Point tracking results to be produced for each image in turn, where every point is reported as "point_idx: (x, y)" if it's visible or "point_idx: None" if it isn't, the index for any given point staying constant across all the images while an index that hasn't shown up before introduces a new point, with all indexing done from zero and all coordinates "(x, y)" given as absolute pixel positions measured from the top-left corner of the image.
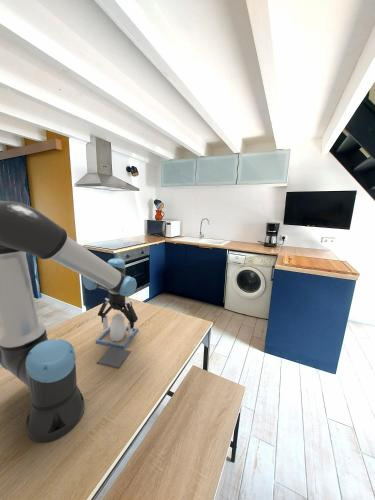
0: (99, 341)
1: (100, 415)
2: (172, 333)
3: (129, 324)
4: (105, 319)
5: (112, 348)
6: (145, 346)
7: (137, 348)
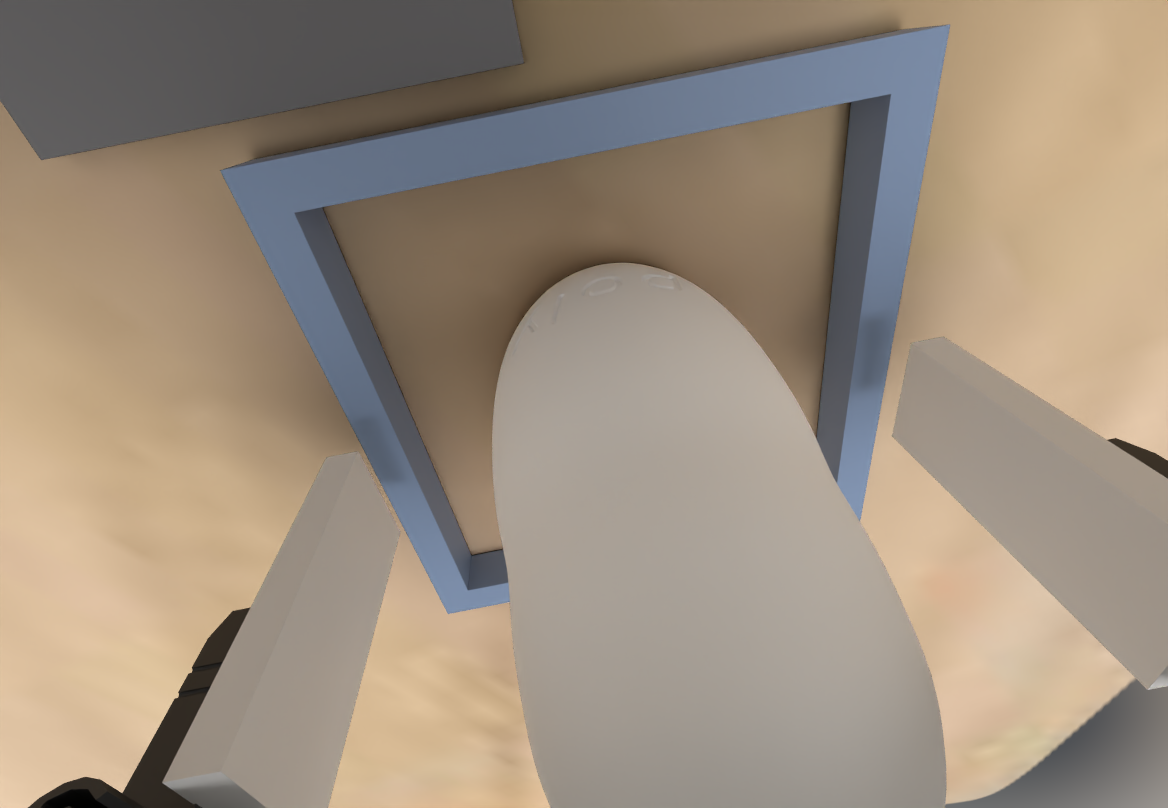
0: (846, 43)
1: None
2: (57, 714)
3: (206, 721)
4: (1124, 557)
5: (436, 25)
6: (34, 407)
7: (80, 307)
